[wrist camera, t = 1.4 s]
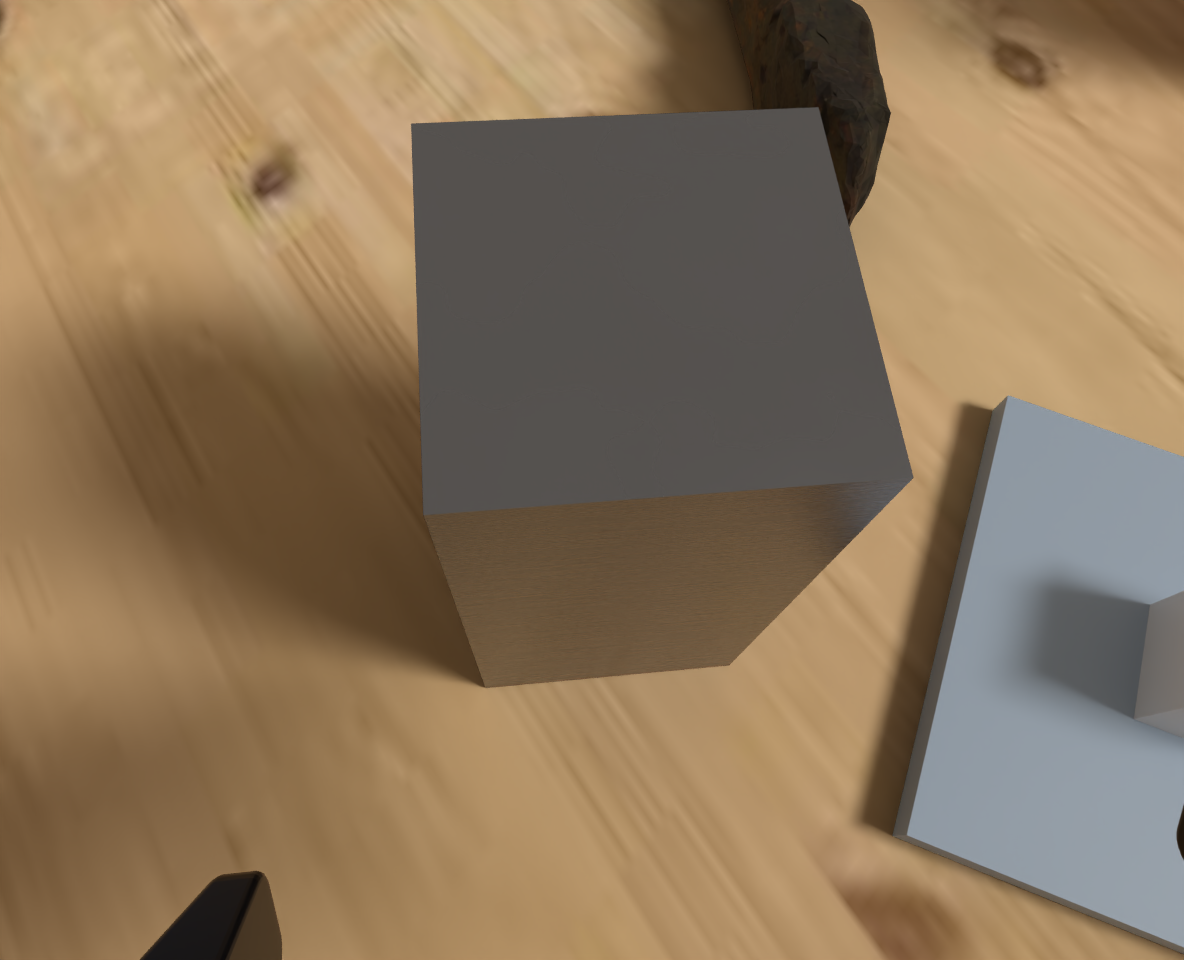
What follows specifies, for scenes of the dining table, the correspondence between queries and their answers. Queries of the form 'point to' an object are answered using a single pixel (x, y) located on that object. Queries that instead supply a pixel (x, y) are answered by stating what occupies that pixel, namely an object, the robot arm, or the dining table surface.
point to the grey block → (640, 383)
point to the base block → (1062, 677)
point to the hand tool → (820, 78)
